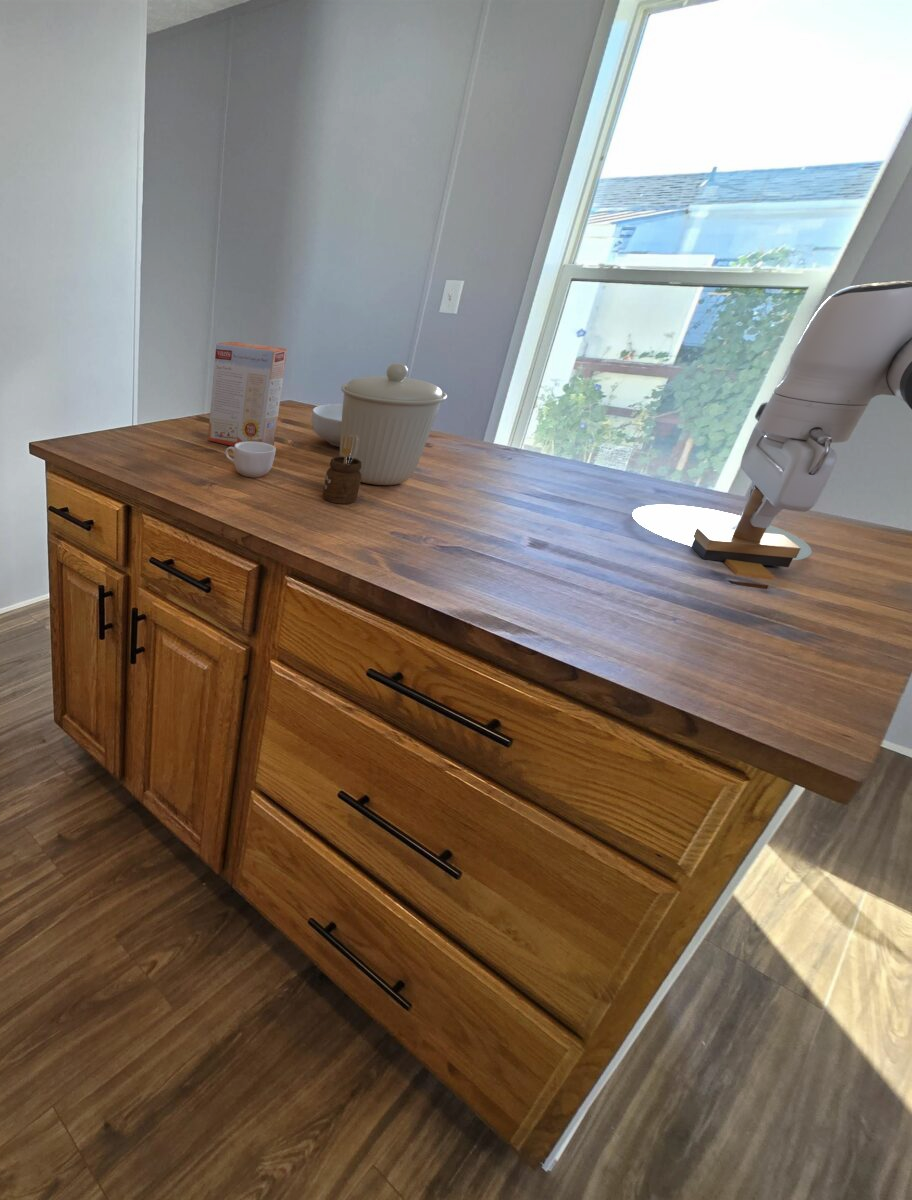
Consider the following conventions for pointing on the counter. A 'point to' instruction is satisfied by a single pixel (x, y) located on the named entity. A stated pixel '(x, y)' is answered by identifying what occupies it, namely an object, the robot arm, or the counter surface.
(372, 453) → the canister
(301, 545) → the counter surface
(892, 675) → the counter surface
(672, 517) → the disc
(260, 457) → the teacup
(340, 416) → the cereal bowl
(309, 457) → the counter surface
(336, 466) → the utensil holder
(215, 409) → the cracker box
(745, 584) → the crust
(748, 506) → the brush
